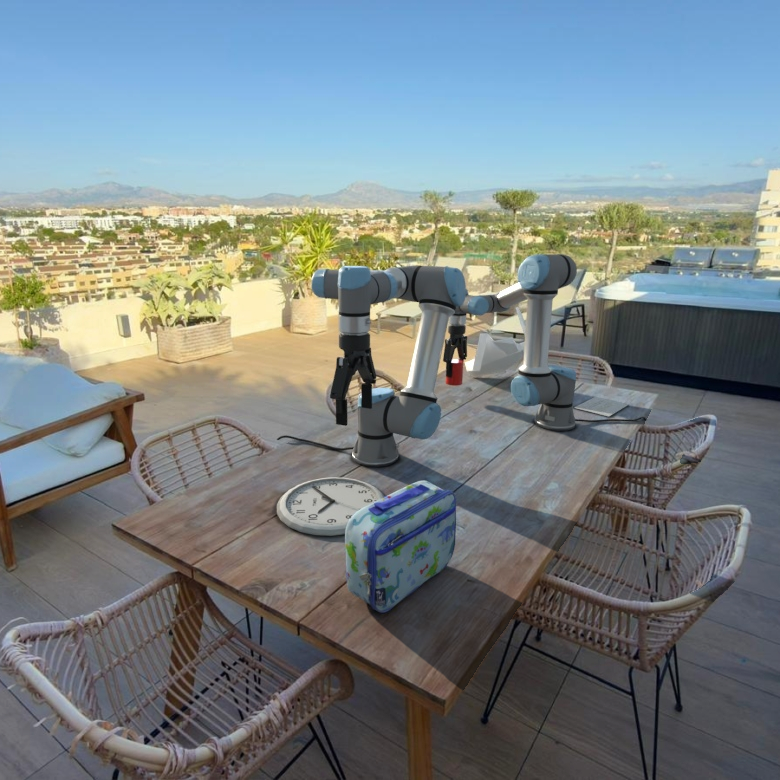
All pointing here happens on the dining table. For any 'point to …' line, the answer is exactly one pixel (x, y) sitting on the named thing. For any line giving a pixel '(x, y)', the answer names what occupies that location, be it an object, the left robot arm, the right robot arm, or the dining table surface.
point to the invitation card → (601, 406)
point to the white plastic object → (496, 353)
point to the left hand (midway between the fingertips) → (354, 415)
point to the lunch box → (399, 543)
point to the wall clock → (325, 504)
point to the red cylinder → (456, 373)
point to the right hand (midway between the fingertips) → (454, 375)
